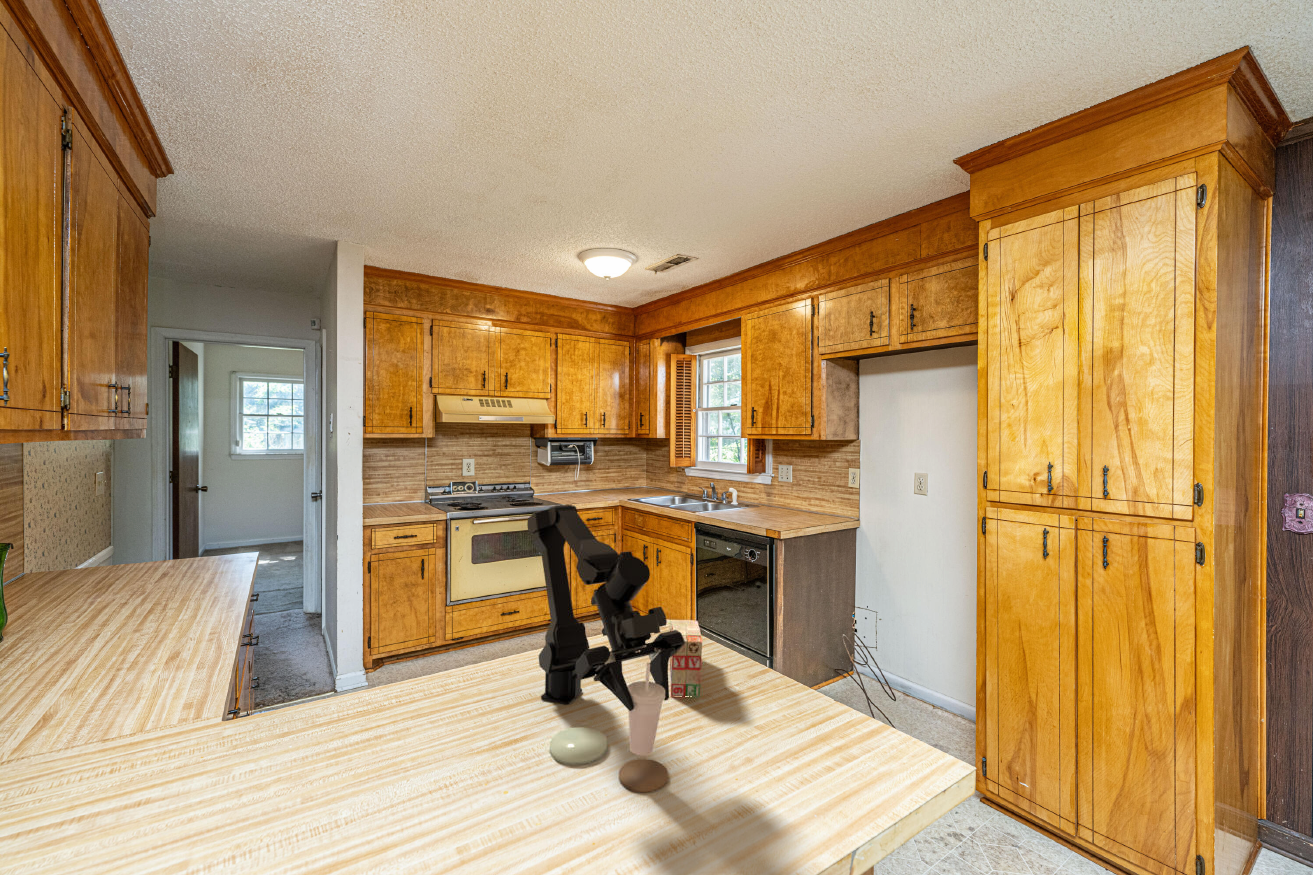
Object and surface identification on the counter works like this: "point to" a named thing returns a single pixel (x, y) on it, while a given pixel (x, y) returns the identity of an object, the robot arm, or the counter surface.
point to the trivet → (643, 775)
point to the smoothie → (644, 714)
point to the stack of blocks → (686, 660)
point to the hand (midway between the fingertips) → (649, 704)
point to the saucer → (578, 746)
